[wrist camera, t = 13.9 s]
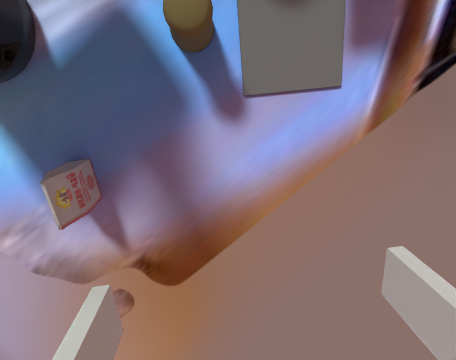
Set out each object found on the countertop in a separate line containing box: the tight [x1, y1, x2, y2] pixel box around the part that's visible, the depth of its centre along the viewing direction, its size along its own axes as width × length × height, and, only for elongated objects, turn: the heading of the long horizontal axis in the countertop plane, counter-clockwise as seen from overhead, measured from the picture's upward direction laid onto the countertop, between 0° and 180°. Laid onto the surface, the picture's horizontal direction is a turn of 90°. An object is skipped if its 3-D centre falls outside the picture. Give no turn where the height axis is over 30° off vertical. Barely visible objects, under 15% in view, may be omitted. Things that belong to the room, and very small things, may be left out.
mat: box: [237, 0, 345, 96], centre depth 38 cm, size 15×15×1 cm
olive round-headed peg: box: [163, 0, 214, 52], centre depth 32 cm, size 6×6×11 cm
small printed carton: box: [40, 159, 102, 230], centre depth 38 cm, size 4×7×10 cm, turn 8°
